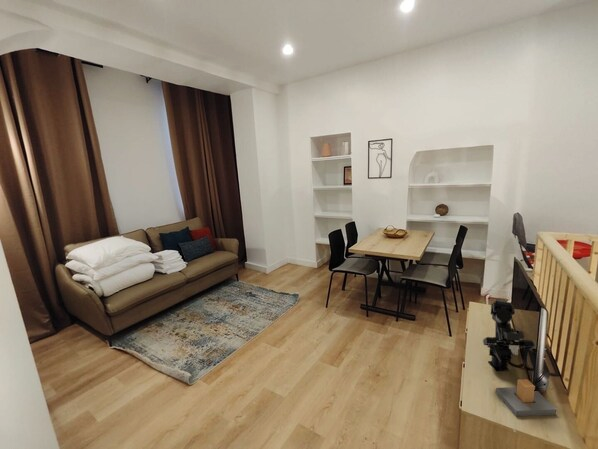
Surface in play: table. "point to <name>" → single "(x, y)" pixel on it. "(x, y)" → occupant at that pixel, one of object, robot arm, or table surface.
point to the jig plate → (525, 409)
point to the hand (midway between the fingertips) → (513, 363)
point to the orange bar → (525, 391)
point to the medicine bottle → (514, 348)
